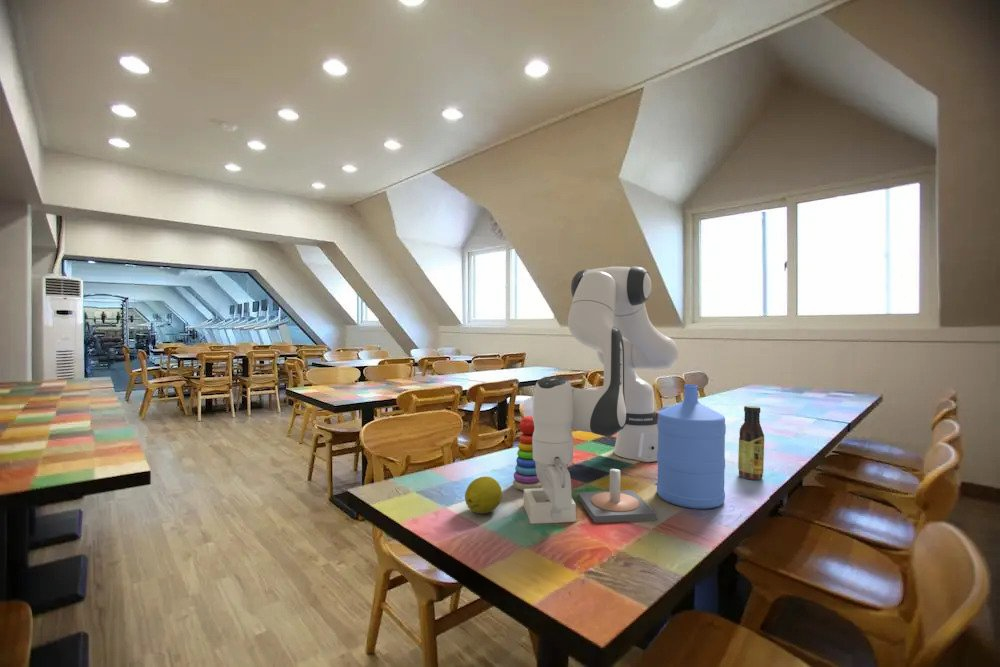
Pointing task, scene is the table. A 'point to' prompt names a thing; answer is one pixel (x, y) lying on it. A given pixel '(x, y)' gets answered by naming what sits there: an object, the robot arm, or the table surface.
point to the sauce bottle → (751, 445)
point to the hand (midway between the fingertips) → (552, 513)
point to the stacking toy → (526, 458)
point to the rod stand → (615, 503)
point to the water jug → (691, 453)
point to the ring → (544, 508)
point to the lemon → (483, 495)
